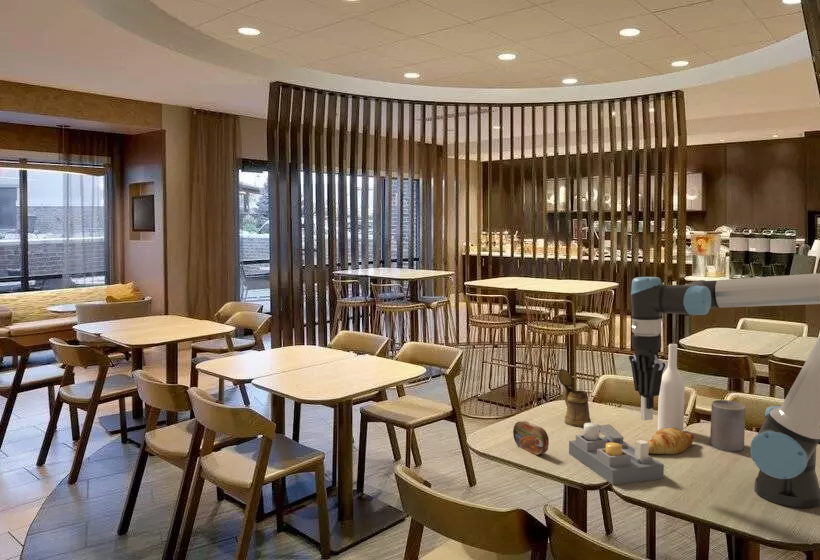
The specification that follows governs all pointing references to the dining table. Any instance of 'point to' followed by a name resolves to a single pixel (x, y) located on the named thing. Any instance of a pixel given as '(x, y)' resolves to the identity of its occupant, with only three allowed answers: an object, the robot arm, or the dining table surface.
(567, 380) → the wooden mug
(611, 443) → the amber button
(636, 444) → the slider knob
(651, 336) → the robot arm
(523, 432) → the tin
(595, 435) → the white button
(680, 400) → the bottle
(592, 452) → the panel
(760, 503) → the dining table surface
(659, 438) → the croissant
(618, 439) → the plate
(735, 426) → the pillar candle
